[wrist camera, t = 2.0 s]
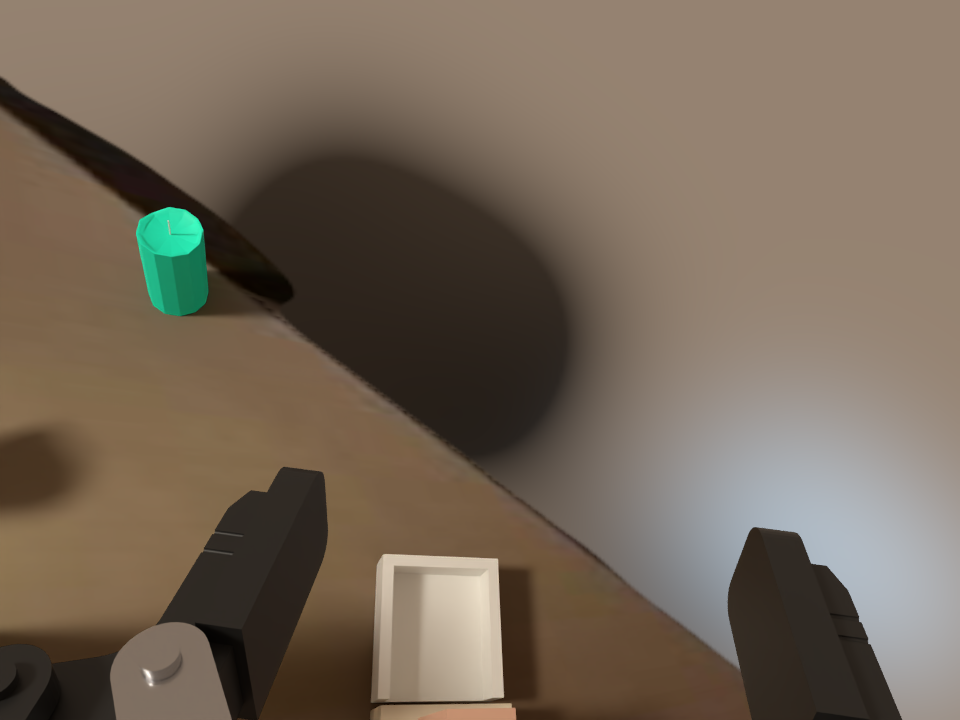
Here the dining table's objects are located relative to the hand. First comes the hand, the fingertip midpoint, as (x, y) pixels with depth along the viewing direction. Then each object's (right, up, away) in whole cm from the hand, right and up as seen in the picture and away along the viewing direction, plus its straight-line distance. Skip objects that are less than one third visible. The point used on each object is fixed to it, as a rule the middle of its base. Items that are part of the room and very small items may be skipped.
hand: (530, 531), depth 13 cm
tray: (-5, -22, +52) cm, 57 cm away
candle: (-34, +10, +63) cm, 72 cm away
